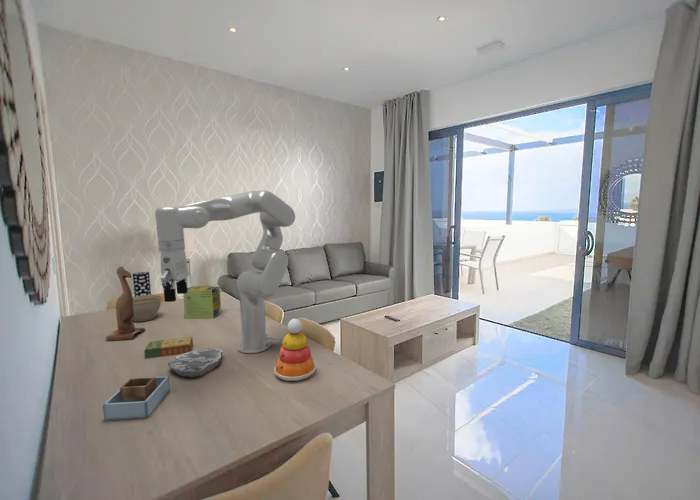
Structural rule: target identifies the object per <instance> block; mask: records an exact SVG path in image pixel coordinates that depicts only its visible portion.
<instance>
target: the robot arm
mask: <svg viewBox="0 0 700 500" xmlns="http://www.w3.org/2000/svg"><path fill="white" fill-rule="evenodd" d="M154 213H155V214H154V215H155V225H156V226H155V227H156V234H157V245H158V251H159V252H160V272H161V273H160V275H161V276H160V282H161V286H162V290H163V296H164V297H163V298H164V299H163V300H164V302H166V303H167V302H168V303H172V302H176V301H177V297H176V296H177V295H179V294H184V293H187V288H188V285H187V281H188V280H187V277H188V276H189V269H188V268H189V267H188V262H187V256H186V251H185V250H186V246H185V243H186V242H185V232H184V229H185V228H186V229H201V228H204V227H205V226H207V224H209V222H215V221H229V220H234V219H237V218H242V217H245V216H249V215H252V214H256V213H258V214H259V221H260V223H261V226H262V231H263V233H262V237H261V239H260V242H259V243H258V246H257V248H255V251H254V254H253V256H252V258H251V265H252V267H254V269H256V270H258V271H254V270H247V271H243V272H242V273H240V274H239V276H238V277H237V280H236V289H237V293H238V298H239V307H240V326H241V327H240V329H241V343H239V344H238V347H237V348H238V351H239V352H241V353H244V354H257V353H261V352H264V351H265V352H266V350H268V349H270V348H271V344H277V343H278V338H277V337H275V336H271V337H270V336H268V333H267V330H266V327H267V326H266V324H267V323H266V304H265V303H266V302H265V299H269V298H272V297H273V296H274V295H275V293H276V292H277V291H278V289H279V287H280V285H281V282H282V280H283V278H284V275H285V273H286V271H287V269H288V266H289V257H288V255H287V253H286V251H284V250H282V249H281V246H282V244H283V242H284V240H283V237H284V236H283V232H282V229H281V228H287V227H291V226H292V225H293V224H294V222H295V220H296V212H295V211H294V210H293V208H292V207H291V206H290V205H289V204H287V202H286V201H284V200H282V199H281V198H280V197H279V196H278V195H276V194H274V193H272V192H271V191H269V190H263V189H262V190H250V191H247V192H241V193H237V194H233V195H227V196H222V197H218V198H217V197H216V198H213V199H209V200H203V201H199V202H194V203H189V204H183V205H180V206H177V207H176V206H163V207H162V206H161V207H157V208H156V209H155V211H154ZM261 271H262V272H261ZM175 284H176V286H175ZM174 287H176V288H174ZM176 294H177V295H176Z"/></svg>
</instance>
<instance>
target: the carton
mask: <svg viewBox="0 0 700 500" xmlns="http://www.w3.org/2000/svg"><path fill="white" fill-rule="evenodd" d="M193 345H194V340H193V336H187V337H186V336H185V337H179V338H171V339H163V340H155V341H149V342H148V344H147V345H146V347H145V348H144V350H143V351H144V359H153V358H160V357H168V356H174V355H175V356H178V355H181V354H183V353H187V352H191V351H192V349H193Z"/></svg>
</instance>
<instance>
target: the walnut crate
mask: <svg viewBox="0 0 700 500" xmlns="http://www.w3.org/2000/svg"><path fill="white" fill-rule="evenodd" d="M147 377H148V378H146V377H131V378H129V379H128V380H127V381H126V382H125V383H124V384H123V385H122V386H121V387H120V388H119V390H120V392H121V403H123V402H139V401H145V400H146V399H147V398H148V397H149V396H150V395H151V394H152V393H153V392H154V390H155V389H156V378H155V377H156V376H152V377H149V376H147Z"/></svg>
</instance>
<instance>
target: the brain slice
mask: <svg viewBox="0 0 700 500" xmlns="http://www.w3.org/2000/svg"><path fill="white" fill-rule="evenodd" d="M223 351H224V350H223V349H221V348H202V349H201V348H200V349H197V350H191V352H187V353H183V354H177V355H175V357H174V359H173V360H171V361H169V362H168V364H167V365H168V367H169V368H170V369H171V370H173V371H174V372H175V373H176V374H177V375H179V376H180V377H184V378H185V377H189V378H196V377H197V378H198V377H201V376H202V377H203V376H204V375H205V374H207V373H209V372H210V371H212V370H213V369H215V368H216V367H217V366H218V365H219V364H220V363H221V360H222V356H223Z"/></svg>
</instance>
